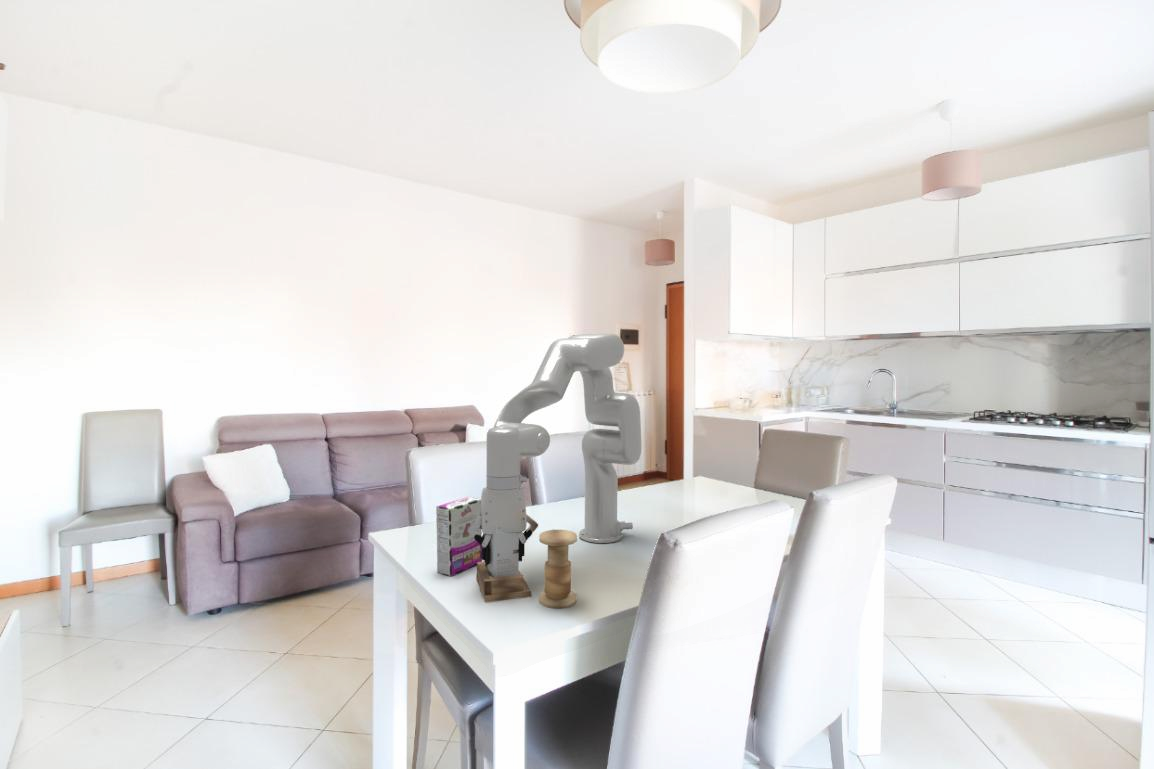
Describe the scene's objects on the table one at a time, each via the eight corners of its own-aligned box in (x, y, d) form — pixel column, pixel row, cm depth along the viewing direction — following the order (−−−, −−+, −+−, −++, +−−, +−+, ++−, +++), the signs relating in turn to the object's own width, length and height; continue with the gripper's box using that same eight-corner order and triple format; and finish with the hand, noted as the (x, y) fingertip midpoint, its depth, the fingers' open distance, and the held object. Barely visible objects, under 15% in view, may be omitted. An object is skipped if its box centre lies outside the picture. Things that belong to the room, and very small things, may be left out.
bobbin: (570, 590, 123) (570, 528, 122) (581, 605, 115) (581, 539, 115) (535, 594, 120) (535, 531, 120) (544, 610, 113) (544, 542, 112)
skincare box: (494, 580, 121) (495, 526, 120) (486, 574, 124) (486, 521, 124) (520, 575, 124) (520, 521, 124) (511, 568, 128) (511, 517, 127)
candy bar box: (467, 559, 142) (467, 496, 142) (482, 563, 139) (482, 498, 139) (435, 573, 133) (435, 505, 132) (450, 577, 130) (450, 508, 129)
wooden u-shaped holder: (518, 574, 132) (518, 557, 132) (531, 596, 120) (531, 577, 120) (476, 579, 129) (476, 561, 129) (484, 602, 117) (484, 582, 116)
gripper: (537, 477, 130) (536, 552, 130) (462, 481, 124) (462, 559, 125) (545, 483, 123) (544, 563, 123) (466, 488, 117) (466, 571, 118)
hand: (503, 560), depth 124 cm, fingers closed on skincare box, 6 cm apart
